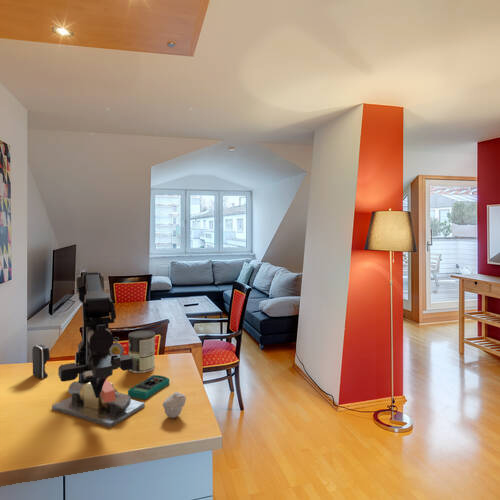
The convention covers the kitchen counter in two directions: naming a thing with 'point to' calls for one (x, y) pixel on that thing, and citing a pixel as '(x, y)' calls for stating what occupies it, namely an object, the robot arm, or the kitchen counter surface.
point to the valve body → (97, 405)
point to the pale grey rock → (174, 404)
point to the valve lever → (107, 392)
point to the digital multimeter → (148, 387)
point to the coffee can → (142, 350)
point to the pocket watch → (116, 348)
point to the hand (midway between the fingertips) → (97, 397)
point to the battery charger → (40, 360)
